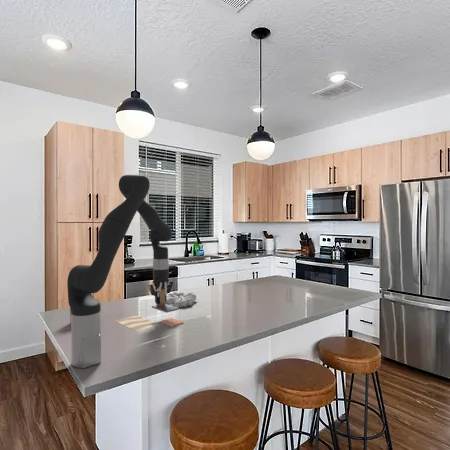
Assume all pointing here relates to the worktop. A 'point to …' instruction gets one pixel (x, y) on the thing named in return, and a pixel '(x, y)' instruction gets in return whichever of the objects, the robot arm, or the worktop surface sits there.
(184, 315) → the worktop surface
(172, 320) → the tile
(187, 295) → the grey lumpy flat piece
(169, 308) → the wooden post with base
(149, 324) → the board
